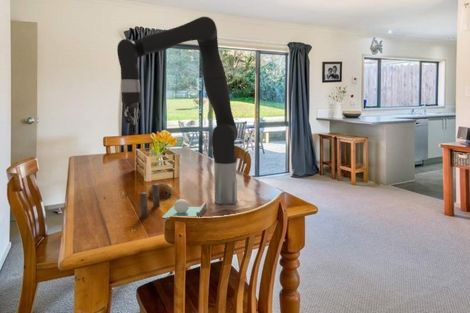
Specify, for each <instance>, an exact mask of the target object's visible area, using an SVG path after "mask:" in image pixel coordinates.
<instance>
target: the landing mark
mask: <svg viewBox="0 0 470 313" xmlns="http://www.w3.org/2000/svg"><path fill="white" fill-rule="evenodd" d="M200 207H201V206H189V208H188V210H187V212H185V213H183V214H180V213H178V212H176V211H175V208H174V205H173V206H171V208H169V210H168V211H167V212H165V214H163V215H162V216H161V219H168V218H167V217H170V216H175V215H177V216H196V212H197V211H198V210H199V208H200ZM207 209H208V207H207V206H206V209H205V211H206V210H207Z"/></svg>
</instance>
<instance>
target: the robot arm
mask: <svg viewBox="0 0 470 313" xmlns="http://www.w3.org/2000/svg"><path fill="white" fill-rule="evenodd" d="M191 41H193V42H194V41H197V45H198V47H199V51H200V55H201V63H202V64H201V66H202V68H201V69H202V78H203V83H204V90H205V93H206V98H207V99H208V102H209V103H210V105H211V108H212V110H213V112H214V117H215V124H216V126H215V127H214V128H213V130H212V133H211V134H212V135H211V146H212V147H211V148H212V156H213V164H214V166H213V169H214V170H213V172H214V173H213V174H214V175H213V176H214V177H213V178H214V183H213V184H214V186H213V187H214V203H216V204H217V205H225V206H226V205H227V206H228V205H235V204H237V201H238V178H237V155H236V152H235V151H236V150H235V141H237V138H238V134H239V133H238V129H237V126H236V122H235V119H234V116H233V112H232V107H231V105H232V104H231V98H230V93H229V92H230V91H229V86H228V81H227V80H228V79H227V75H226V71H225V68H224V64H223V62H222V59H221V55H220V49H219V43H218V41H219V40H218V29H217V24H216V23H215V21H214V19H213V18H211V17H209V16H205V15H204V16H200V17H197V18H195V19H193V20H191V21H189V22H187V23H184V24H182V25H179V26H175V27H173V28H170V29H165V30H162V31H157V32H154V33H149V34H146V35H143V36H142V37H141V38H138V39H135V40H131V39H129V38H128V39H127V38H123V39H121V40H120V41H119V42H118V43H117V49H116V50H117V59H118V63H119V66H120V67H119V68H120V92H121V93H120V94H121V96H120V97H121V103H122V104H125V107H124V109H125V110H124V111H122V116H123V118H124V120H125V123H126V124H128V126H129V134H130V135H135V134H137V124H138V123H139V121H140V117H141V113H142V110H140V109H139V106H138V104H140V103H141V102H142V98H141V97H142V96H141V95H142V94H141V84H140V72H139V67H138V65H137V61H136V60H137V59H138V58H141V57H144V56H146V55H148V54H154V53H157V52H161V51H166V50H169V49H170V48H173V47H174V46H177V45H180V44H183V43H187V42H191Z"/></svg>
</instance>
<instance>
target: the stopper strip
mask: <svg viewBox="0 0 470 313" xmlns="http://www.w3.org/2000/svg"><path fill="white" fill-rule="evenodd" d="M199 207H200V208H199V210H198V211H197V212H196V216H198V217H199V216H201V217H202V216H203V214H204V213H205V211H206V210H207V209H206V207H207V202H203V203H202V204H201V205H200V206H199ZM205 209H206V210H205Z"/></svg>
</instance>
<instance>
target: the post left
mask: <svg viewBox="0 0 470 313" xmlns="http://www.w3.org/2000/svg"><path fill="white" fill-rule="evenodd" d="M139 206H140V208H139V209H140V210H139V211H140V217H141V218H143V219H146V218H148V217H149V215H148V212H149V211H148V210H149V209H148V193H147V192H144V191H143V192H139Z"/></svg>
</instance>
